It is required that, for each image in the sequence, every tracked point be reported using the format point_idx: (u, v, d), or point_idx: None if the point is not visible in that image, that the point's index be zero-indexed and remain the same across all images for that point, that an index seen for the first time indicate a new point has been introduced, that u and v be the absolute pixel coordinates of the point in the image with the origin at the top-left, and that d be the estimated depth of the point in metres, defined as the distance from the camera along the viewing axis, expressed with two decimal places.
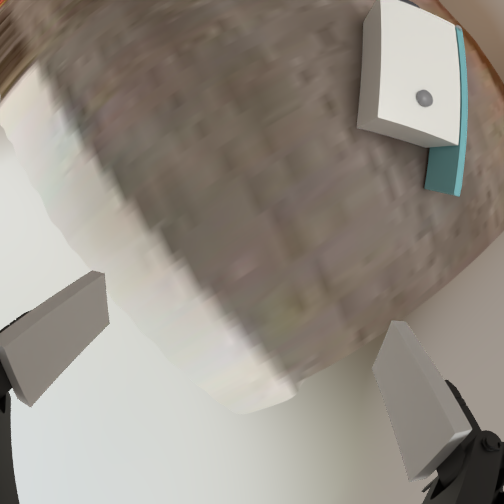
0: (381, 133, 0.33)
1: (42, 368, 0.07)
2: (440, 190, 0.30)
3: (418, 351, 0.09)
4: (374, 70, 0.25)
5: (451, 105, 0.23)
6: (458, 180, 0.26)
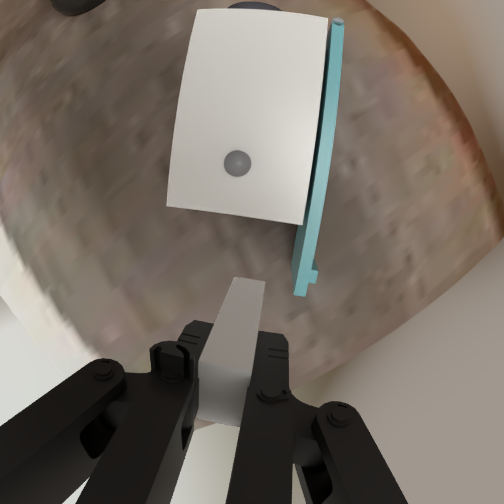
0: None
1: None
2: (292, 277, 0.27)
3: (252, 302, 0.11)
4: None
5: (293, 162, 0.20)
6: (302, 275, 0.23)
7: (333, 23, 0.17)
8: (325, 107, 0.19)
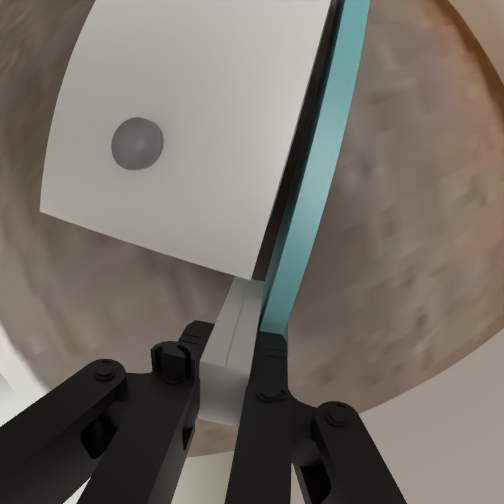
0: None
1: None
2: None
3: (251, 302, 0.11)
4: None
5: (247, 148, 0.09)
6: None
7: None
8: (336, 50, 0.08)
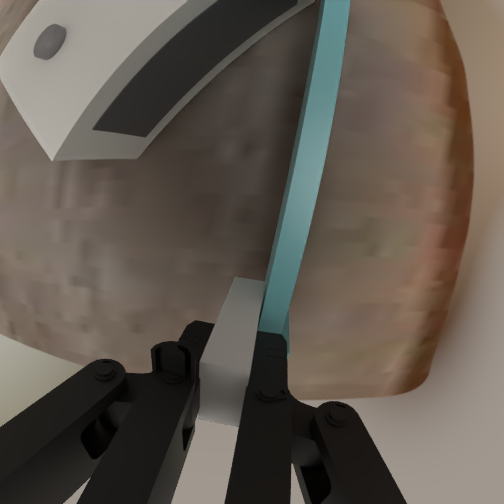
0: None
1: None
2: None
3: (251, 302, 0.11)
4: None
5: (93, 64, 0.09)
6: None
7: None
8: (320, 43, 0.08)
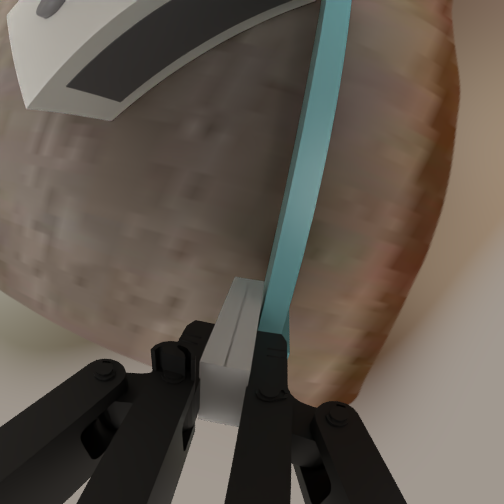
0: None
1: None
2: None
3: (251, 302, 0.11)
4: None
5: (77, 29, 0.08)
6: None
7: None
8: (321, 43, 0.08)
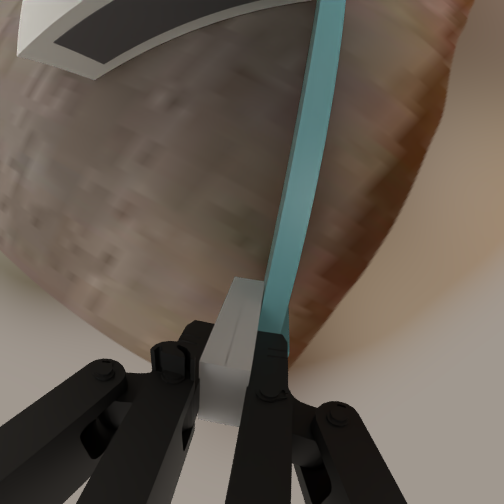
0: None
1: None
2: None
3: (251, 302, 0.11)
4: None
5: None
6: None
7: None
8: (316, 40, 0.08)
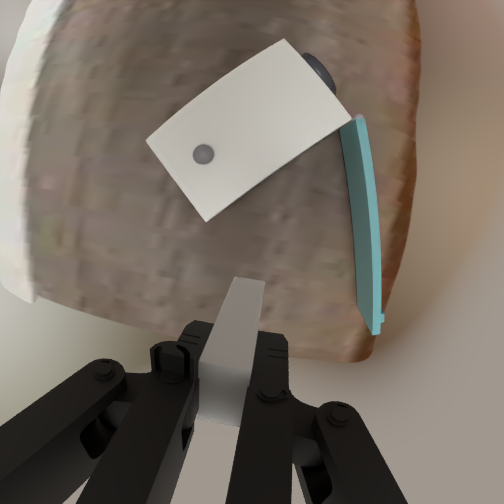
0: None
1: None
2: (365, 320, 0.34)
3: (252, 302, 0.11)
4: None
5: (234, 182, 0.27)
6: (375, 321, 0.30)
7: (357, 122, 0.24)
8: (368, 202, 0.26)
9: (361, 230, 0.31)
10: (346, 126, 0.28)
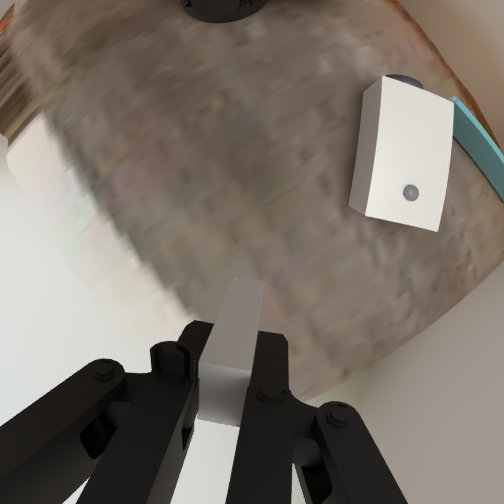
0: None
1: None
2: None
3: (252, 302, 0.11)
4: (368, 160, 0.32)
5: (436, 194, 0.30)
6: None
7: (456, 102, 0.26)
8: (490, 144, 0.27)
9: (488, 161, 0.30)
10: None
